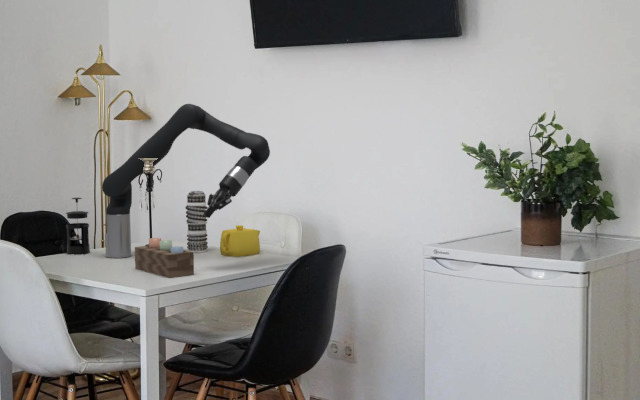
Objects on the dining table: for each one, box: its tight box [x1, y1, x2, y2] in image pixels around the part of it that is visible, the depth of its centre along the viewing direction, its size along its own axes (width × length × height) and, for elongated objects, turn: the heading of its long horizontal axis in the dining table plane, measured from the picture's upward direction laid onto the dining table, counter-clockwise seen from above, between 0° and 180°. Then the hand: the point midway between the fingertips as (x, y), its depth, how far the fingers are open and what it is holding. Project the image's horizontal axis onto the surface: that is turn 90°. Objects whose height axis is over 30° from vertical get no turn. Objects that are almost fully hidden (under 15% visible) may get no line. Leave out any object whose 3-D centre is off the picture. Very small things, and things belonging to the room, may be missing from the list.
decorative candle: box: [185, 190, 209, 253], centre depth 355 cm, size 9×9×25 cm
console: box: [134, 245, 195, 279], centre depth 308 cm, size 25×10×8 cm, turn 39°
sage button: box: [160, 239, 173, 251], centre depth 308 cm, size 4×4×6 cm
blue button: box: [171, 246, 184, 253], centre depth 302 cm, size 4×4×6 cm
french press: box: [65, 197, 91, 255], centre depth 352 cm, size 12×9×23 cm
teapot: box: [219, 224, 261, 258], centre depth 348 cm, size 20×12×12 cm, turn 137°
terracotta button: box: [148, 237, 162, 248], centre depth 314 cm, size 4×4×6 cm
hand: (206, 216), depth 309 cm, fingers closed
